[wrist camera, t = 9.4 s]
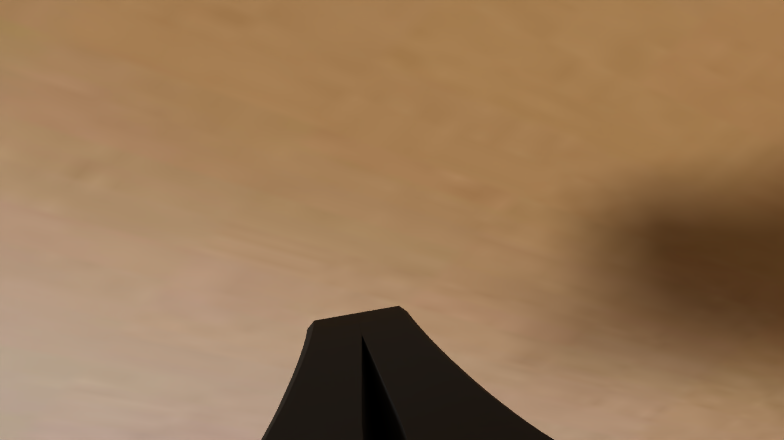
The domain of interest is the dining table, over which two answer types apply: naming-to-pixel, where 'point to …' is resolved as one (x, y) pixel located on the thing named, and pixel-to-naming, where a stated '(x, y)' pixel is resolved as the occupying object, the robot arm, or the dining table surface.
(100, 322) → the dining table surface
